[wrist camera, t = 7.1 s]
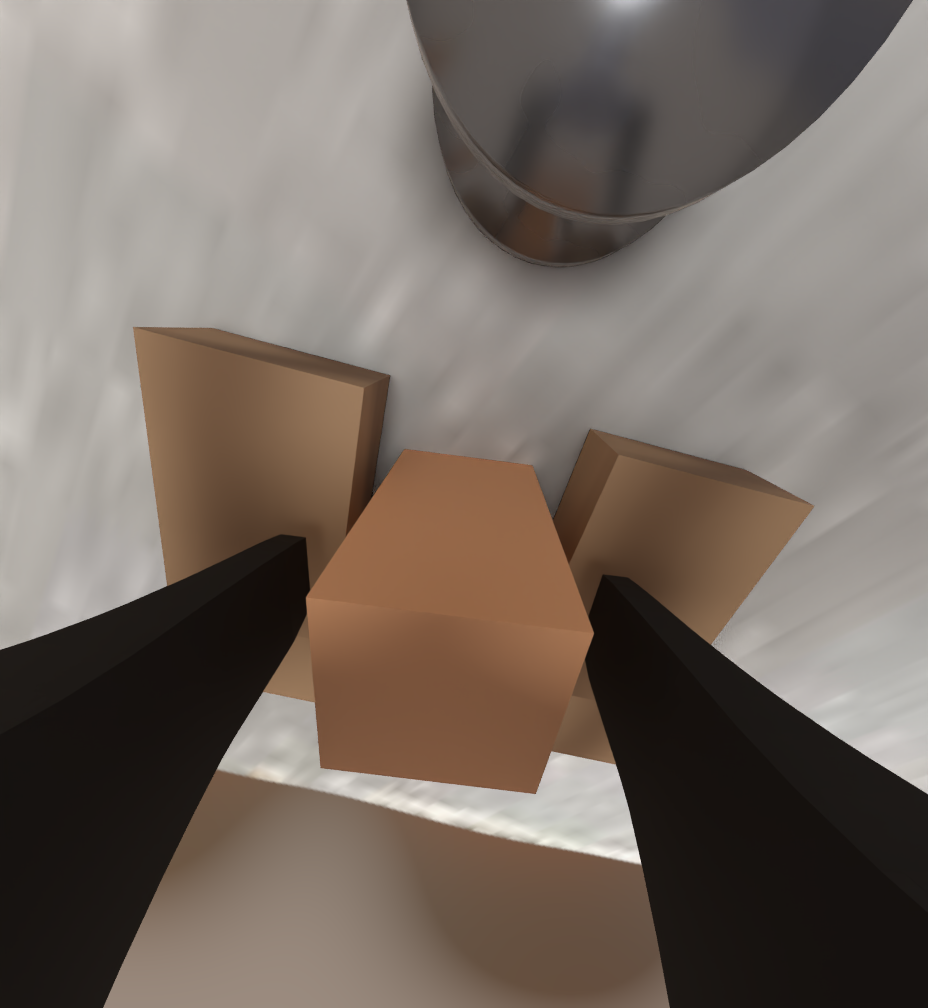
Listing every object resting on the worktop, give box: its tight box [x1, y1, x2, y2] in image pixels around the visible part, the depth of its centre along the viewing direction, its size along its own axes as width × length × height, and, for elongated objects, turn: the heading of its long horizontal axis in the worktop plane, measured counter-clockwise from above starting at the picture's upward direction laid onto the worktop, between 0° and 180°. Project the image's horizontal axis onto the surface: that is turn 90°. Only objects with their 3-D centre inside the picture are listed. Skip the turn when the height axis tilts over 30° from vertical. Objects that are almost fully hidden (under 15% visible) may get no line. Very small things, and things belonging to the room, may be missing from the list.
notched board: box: [133, 327, 814, 764], centre depth 12 cm, size 16×11×2 cm
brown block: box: [306, 449, 594, 794], centre depth 9 cm, size 4×4×7 cm
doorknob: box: [406, 0, 913, 267], centre depth 6 cm, size 6×6×5 cm
